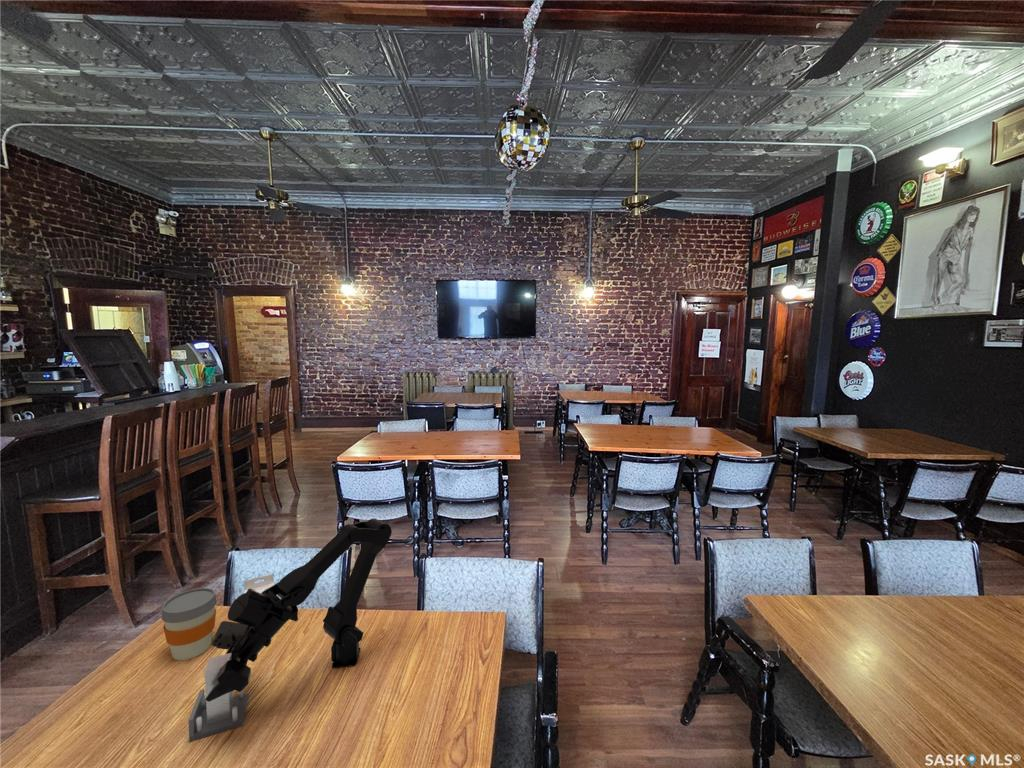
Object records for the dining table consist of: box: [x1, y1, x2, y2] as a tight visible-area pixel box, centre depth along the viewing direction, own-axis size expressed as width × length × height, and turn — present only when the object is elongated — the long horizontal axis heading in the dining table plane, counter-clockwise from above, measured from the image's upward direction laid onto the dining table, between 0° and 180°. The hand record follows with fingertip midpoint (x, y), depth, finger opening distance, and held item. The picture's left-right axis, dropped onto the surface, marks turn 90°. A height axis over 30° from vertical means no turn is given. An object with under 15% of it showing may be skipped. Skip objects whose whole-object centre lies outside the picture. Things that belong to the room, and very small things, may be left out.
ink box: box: [243, 573, 276, 594], centre depth 130 cm, size 8×5×15 cm, turn 123°
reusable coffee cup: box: [161, 587, 218, 661], centre depth 120 cm, size 13×13×15 cm
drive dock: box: [187, 689, 250, 742], centre depth 98 cm, size 10×9×5 cm
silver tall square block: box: [204, 653, 235, 724], centre depth 97 cm, size 4×4×13 cm
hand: (212, 685), depth 97 cm, fingers open, 9 cm apart
